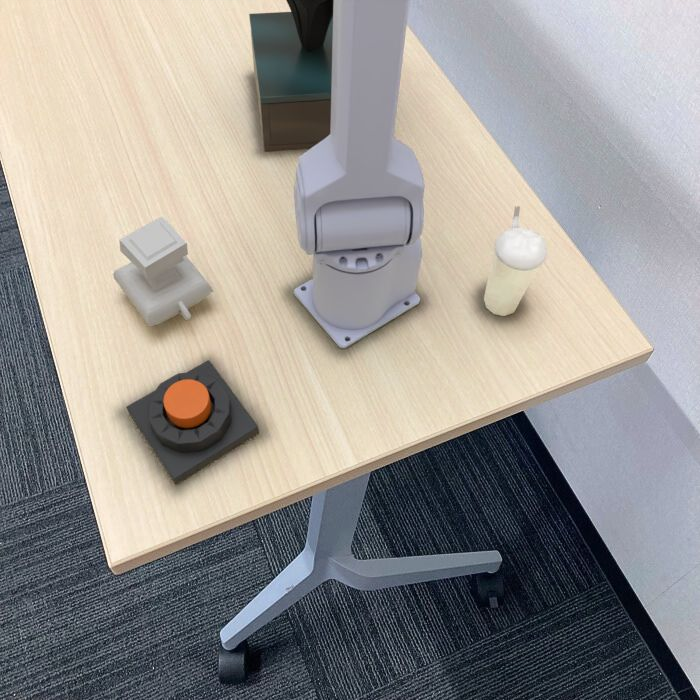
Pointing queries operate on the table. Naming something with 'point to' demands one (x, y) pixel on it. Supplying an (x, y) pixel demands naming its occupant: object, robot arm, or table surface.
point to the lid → (289, 60)
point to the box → (293, 122)
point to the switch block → (198, 442)
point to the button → (187, 403)
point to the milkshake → (513, 267)
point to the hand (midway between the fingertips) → (312, 45)
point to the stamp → (160, 273)
